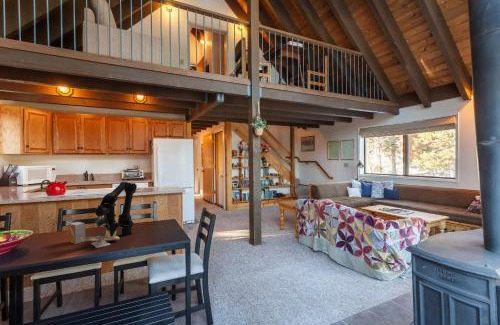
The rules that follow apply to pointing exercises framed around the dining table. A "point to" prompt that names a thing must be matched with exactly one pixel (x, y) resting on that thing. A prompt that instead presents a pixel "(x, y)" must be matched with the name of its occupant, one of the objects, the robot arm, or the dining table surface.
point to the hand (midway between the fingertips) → (110, 235)
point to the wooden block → (109, 234)
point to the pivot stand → (100, 243)
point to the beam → (97, 238)
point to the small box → (76, 232)
